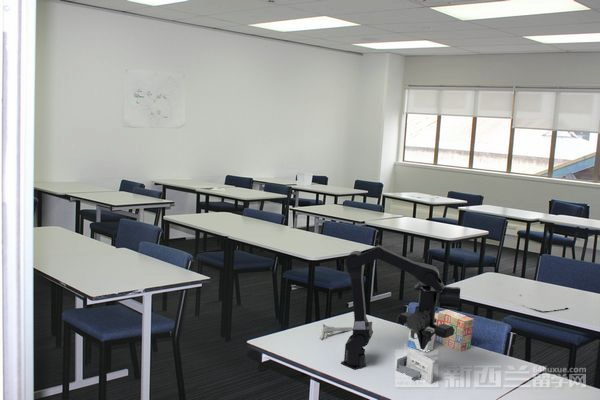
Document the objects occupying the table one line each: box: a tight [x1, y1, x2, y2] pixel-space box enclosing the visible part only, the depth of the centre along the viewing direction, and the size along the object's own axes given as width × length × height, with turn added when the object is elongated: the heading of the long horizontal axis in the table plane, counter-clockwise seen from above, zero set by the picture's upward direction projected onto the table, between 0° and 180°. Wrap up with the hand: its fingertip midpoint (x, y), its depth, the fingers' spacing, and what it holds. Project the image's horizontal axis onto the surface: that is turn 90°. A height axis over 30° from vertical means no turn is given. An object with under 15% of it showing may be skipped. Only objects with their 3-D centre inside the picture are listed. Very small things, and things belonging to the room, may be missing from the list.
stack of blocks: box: [434, 309, 475, 352], centre depth 233 cm, size 21×6×12 cm, turn 40°
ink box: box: [407, 323, 436, 351], centre depth 223 cm, size 8×5×12 cm, turn 47°
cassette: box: [406, 348, 436, 384], centre depth 197 cm, size 12×2×8 cm, turn 32°
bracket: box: [395, 355, 421, 382], centre depth 199 cm, size 9×9×4 cm
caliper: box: [319, 323, 353, 340], centre depth 231 cm, size 20×1×6 cm, turn 137°
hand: (422, 349), depth 196 cm, fingers closed
